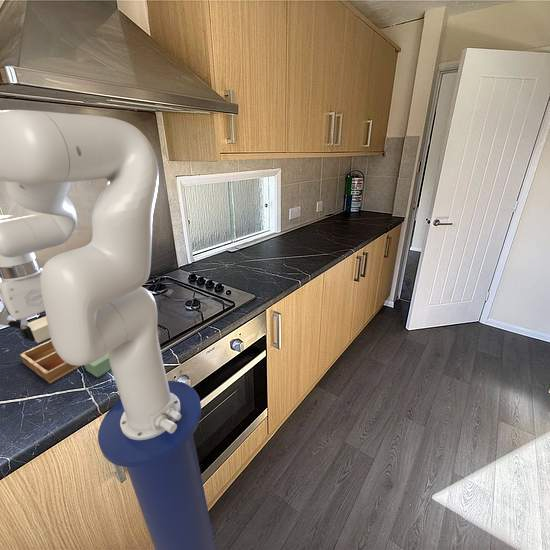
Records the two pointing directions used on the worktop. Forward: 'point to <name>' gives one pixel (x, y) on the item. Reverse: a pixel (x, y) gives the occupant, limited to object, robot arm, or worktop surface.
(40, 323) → the pad
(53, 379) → the holder
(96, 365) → the pad
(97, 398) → the worktop surface
